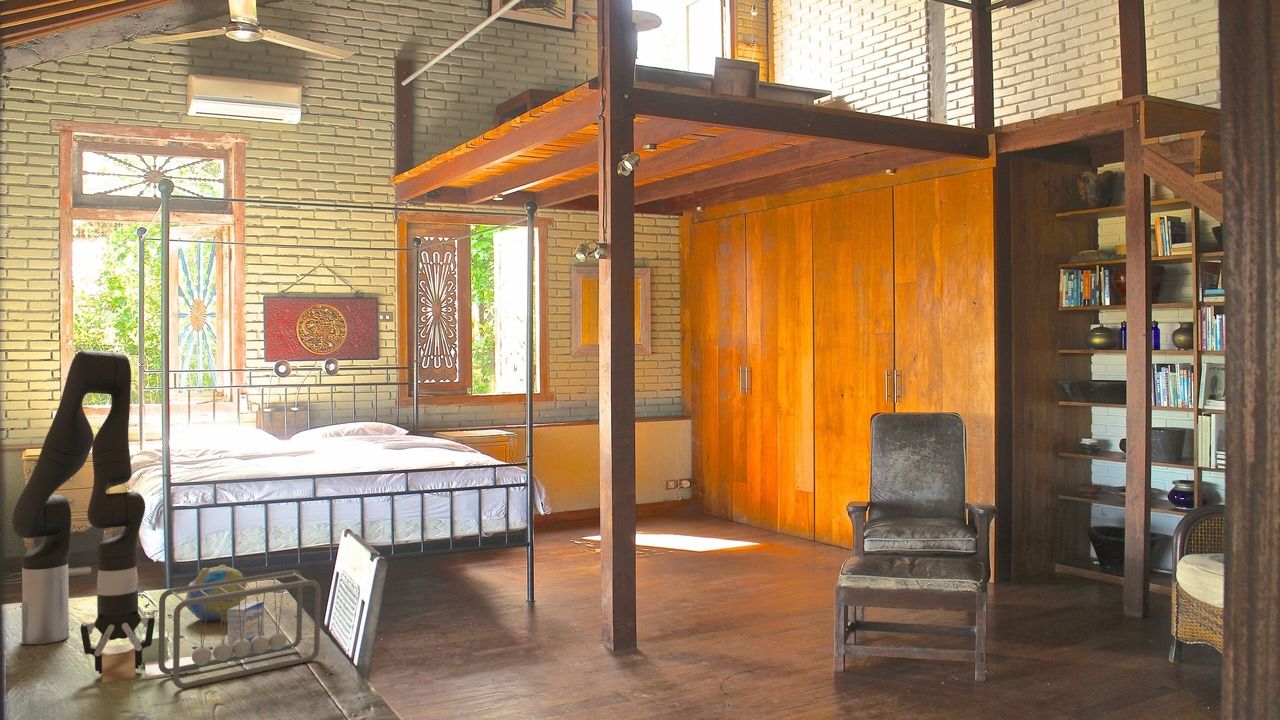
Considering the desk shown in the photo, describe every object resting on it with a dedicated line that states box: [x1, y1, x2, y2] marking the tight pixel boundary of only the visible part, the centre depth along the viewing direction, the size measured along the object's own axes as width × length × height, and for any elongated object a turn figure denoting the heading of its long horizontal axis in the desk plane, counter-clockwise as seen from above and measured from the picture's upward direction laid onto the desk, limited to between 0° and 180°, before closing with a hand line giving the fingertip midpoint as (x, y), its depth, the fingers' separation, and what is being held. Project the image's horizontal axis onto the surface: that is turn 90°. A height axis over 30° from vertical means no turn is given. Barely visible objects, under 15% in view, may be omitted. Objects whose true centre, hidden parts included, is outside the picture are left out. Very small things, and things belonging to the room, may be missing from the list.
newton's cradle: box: [158, 569, 322, 689], centre depth 213 cm, size 30×10×18 cm, turn 131°
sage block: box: [141, 630, 169, 664], centre depth 221 cm, size 5×5×5 cm
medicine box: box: [227, 600, 265, 647], centre depth 232 cm, size 8×4×9 cm, turn 168°
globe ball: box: [185, 564, 248, 624], centre depth 252 cm, size 14×16×15 cm
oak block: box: [101, 643, 136, 683], centre depth 210 cm, size 6×8×5 cm
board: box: [144, 656, 200, 680], centre depth 214 cm, size 10×10×1 cm
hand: (118, 670), depth 210 cm, fingers closed on oak block, 6 cm apart
